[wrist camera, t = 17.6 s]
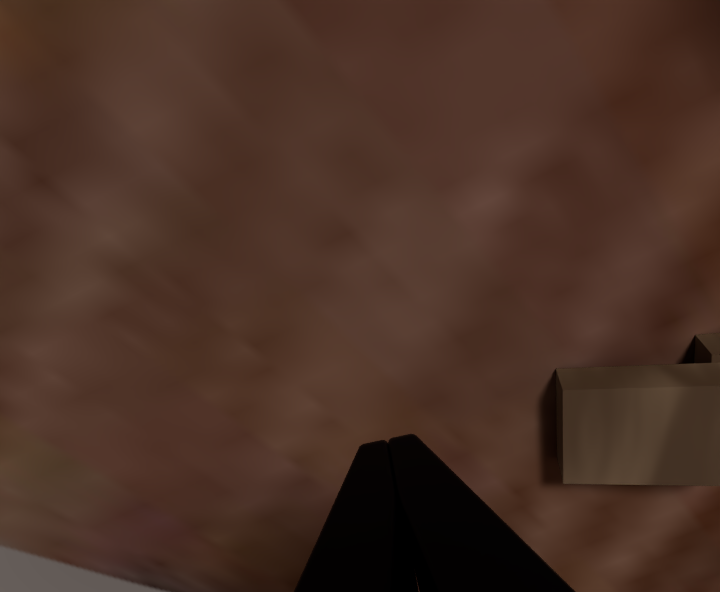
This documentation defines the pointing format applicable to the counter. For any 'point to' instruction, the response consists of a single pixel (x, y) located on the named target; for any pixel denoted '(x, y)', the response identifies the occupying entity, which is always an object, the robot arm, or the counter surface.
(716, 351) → the walnut domino
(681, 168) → the counter surface
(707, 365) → the walnut domino
